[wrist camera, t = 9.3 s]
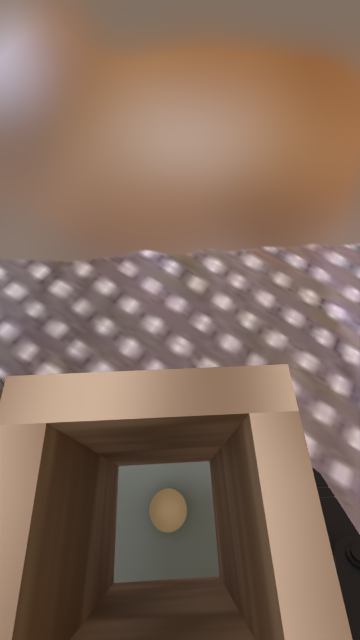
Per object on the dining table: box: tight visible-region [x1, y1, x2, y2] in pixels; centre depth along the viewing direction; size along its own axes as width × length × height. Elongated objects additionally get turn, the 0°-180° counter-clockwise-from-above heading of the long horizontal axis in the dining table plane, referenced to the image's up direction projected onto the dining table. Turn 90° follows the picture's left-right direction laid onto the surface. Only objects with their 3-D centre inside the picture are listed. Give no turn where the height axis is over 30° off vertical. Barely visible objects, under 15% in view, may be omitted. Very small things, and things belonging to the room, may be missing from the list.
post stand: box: [114, 461, 220, 583], centre depth 25 cm, size 18×18×8 cm
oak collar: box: [0, 364, 353, 640], centre depth 11 cm, size 8×8×11 cm
